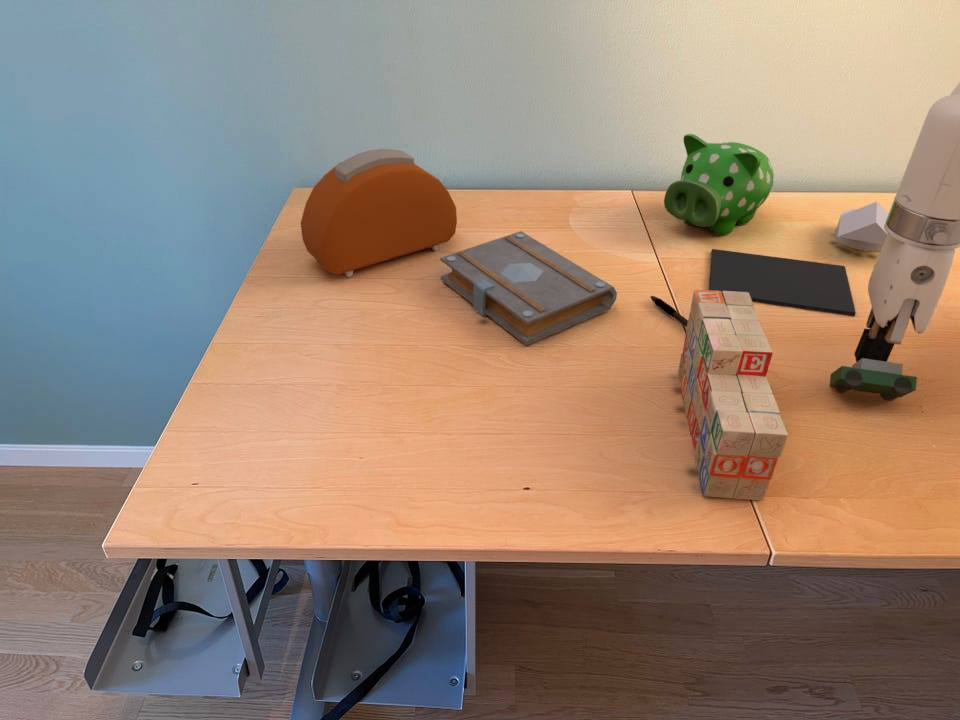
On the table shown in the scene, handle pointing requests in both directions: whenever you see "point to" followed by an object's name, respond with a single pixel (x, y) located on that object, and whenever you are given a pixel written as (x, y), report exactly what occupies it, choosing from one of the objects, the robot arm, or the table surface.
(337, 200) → the orange toaster
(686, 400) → the stack of blocks
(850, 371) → the toy car
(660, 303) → the pen
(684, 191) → the piggy bank
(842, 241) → the wedge on round base
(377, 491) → the table surface
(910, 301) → the robot arm
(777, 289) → the mat
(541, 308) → the book
